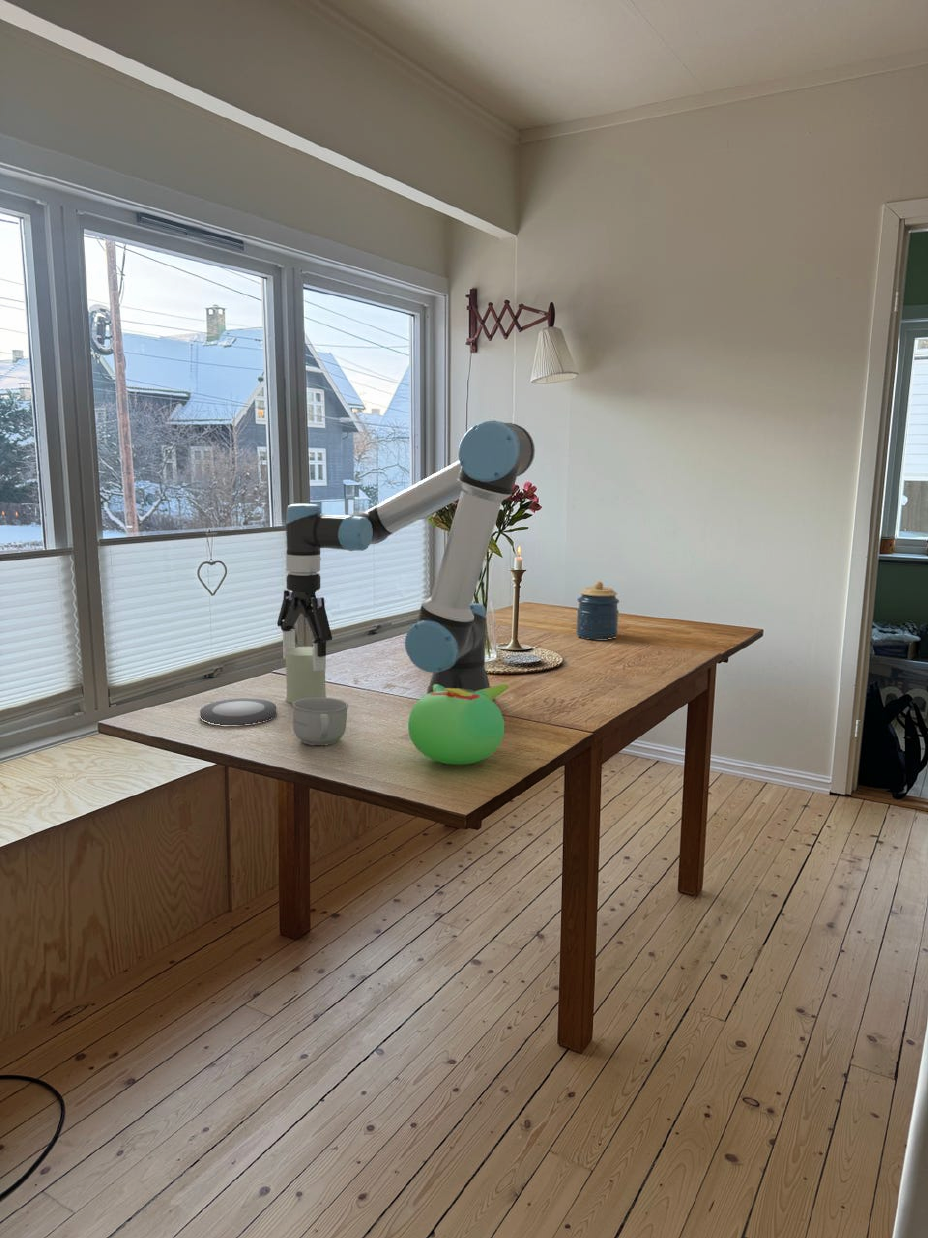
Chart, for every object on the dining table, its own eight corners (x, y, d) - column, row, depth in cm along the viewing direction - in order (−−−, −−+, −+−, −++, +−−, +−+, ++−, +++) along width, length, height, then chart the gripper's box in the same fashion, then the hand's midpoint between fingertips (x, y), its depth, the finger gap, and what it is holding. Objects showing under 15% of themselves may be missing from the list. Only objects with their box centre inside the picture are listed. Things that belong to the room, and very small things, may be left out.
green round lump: (394, 768, 160) (394, 690, 157) (430, 740, 175) (430, 669, 173) (487, 782, 154) (488, 702, 151) (516, 752, 169) (518, 679, 166)
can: (318, 706, 198) (317, 654, 196) (279, 703, 200) (278, 652, 197) (332, 695, 207) (331, 645, 204) (295, 692, 209) (294, 643, 206)
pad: (289, 717, 189) (289, 710, 189) (220, 731, 179) (220, 724, 179) (254, 700, 201) (254, 694, 201) (188, 713, 191) (187, 706, 191)
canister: (576, 631, 283) (578, 577, 280) (616, 633, 282) (619, 579, 278) (575, 640, 271) (577, 583, 267) (618, 642, 269) (620, 585, 266)
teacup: (296, 733, 179) (295, 695, 178) (349, 732, 180) (349, 694, 178) (288, 756, 165) (287, 715, 164) (346, 755, 166) (345, 715, 165)
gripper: (348, 578, 191) (347, 673, 195) (290, 564, 209) (291, 651, 213) (318, 581, 186) (318, 678, 190) (261, 566, 204) (263, 655, 209)
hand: (303, 664), depth 202 cm, fingers open, 13 cm apart
